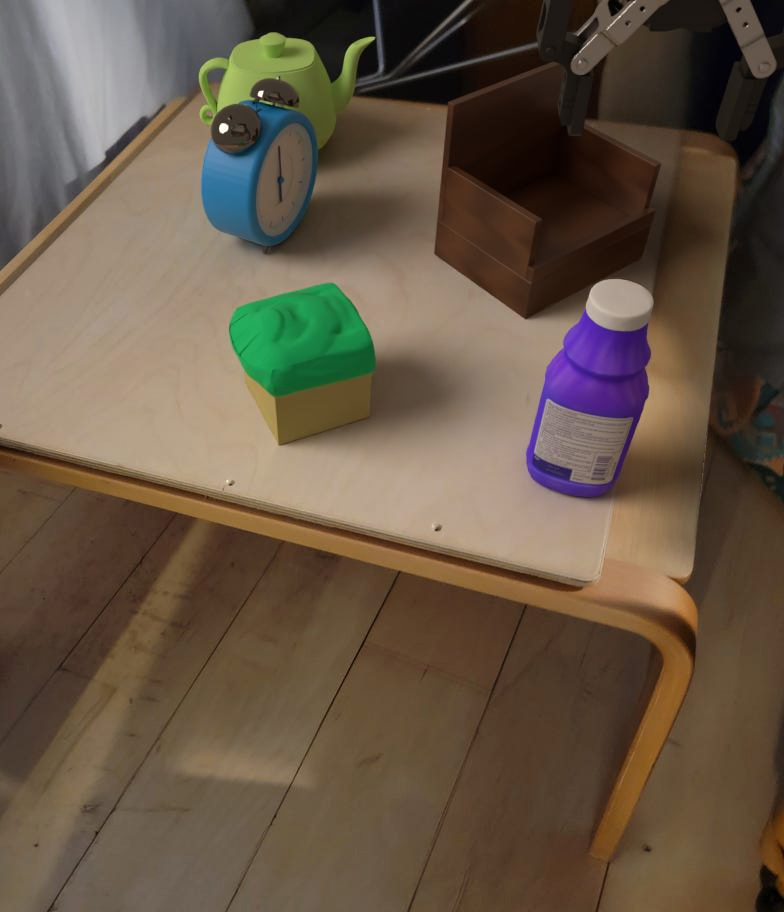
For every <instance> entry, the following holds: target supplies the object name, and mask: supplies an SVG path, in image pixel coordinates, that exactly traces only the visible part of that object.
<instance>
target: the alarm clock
mask: <svg viewBox="0 0 784 912" xmlns="http://www.w3.org/2000/svg"><path fill="white" fill-rule="evenodd" d="M280 77H281V76H278V75H277V79H275V78H265V79H262V80H259V81H258V82H256V83H255V84H254V85H253V87H252V88H251V91H250V95H249V97H252V98H255V99H254V100H245V101H241V102H239V103H237V104H230V105H228V106H226V107H224V108H222V109H221V110H220V111H219V112H218V113H217V114H216V115H215V117H214V119H213V121H212V124H211V126H210V139H209V141H208V144H207V147H206V151H205V154H204V158H203V163H202V168H201V169H202V170H201V177H200V178H201V179H200V195H201V202H202V207H203V211H204V213H205V216H206V218H207V220H208V222H209V223H210V224H211V226H212V227H213V228H214V229H216V230H217V231H219V232H222V233H223V234H226V235H229V236H233V237H236V238H239V239H242V240H245V241H248V242H250V243H251V242H252V243H254V244H258V245H261V246H262V254H263V255H267V253H268V250H269V247H272V246H276V245H279V244H281V243H283V242H284V241H285V240H286V239H288V238H289V237H290V236H291V235H292V234H293V232H294V231H295V230H296V229H297V227H298V225H299V224H300V222H301V221H302V219H303V218H304V215H305V213H306V211H307V209H308V206H309V205H310V201H311V198H312V196H313V191H314V188H315V185H316V179H317V174H318V165H319V150H318V145H317V138H316V133H315V130H314V127H313V125H312V123H311V122H310V120H309V119H308V118H307V117H306V116H305V115H304V114H302V113H300V112H298V111H294V110H290V109H286V108H282V107H278V106H275V103H276V104H280V105H285V106H290V107H295V108H299V101H300V100H299V95H298V93H297V91H296V89H295V88H294V87H293V86H292V85H291V84H290V83H288V82H286V81H283V80H280ZM260 100H263V101H267V102H271V103H272V105H270V104H266V103H262V102H259V101H260Z"/></svg>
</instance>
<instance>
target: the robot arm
mask: <svg viewBox="0 0 784 912" xmlns="http://www.w3.org/2000/svg"><path fill="white" fill-rule="evenodd" d="M574 3H575V0H542V5H541V9H540V14H539V18H538V24H537V29H536V42H537V48H538V55H539V59H540V60H541V61H542V62H545V63H547V64H548V63H551V62H556V63H559V64H561V65H562V66H564V67H565V68H564V73H563V79H562V84H561V90H560V96H559V101H558V111H559V117H560V121H561V125H562V126H567V130H568V135H569V136H581V135H582V133H583V128H584V123H585V124H586V119H587V113H588V108H589V103H590V98H591V95H592V89H593V84H594V81H595V73H594V67H596V66H597V65H598V64H599V63H600V62H601V61H602V60H603V59H604V58H605V56H607V55H608V54H609V53H610V52H611V51H612V50H613V49H614V48H617V47H620V46H621V45H624V43H625V42H626V41H627V40H628V39H629V38H630V37H631V36H633V34H634V33H635V32H636V31H638V29H639V28H640V27H641V26H644V27H646V28H648V30H649V32H653V33H656V32H657V33H660V32H662V33H666V32H669V31H674V30H678V29H683V30H687V31H691V32H693V33H712V31H713V29H714V28H717V27H719V26H721V25H723V24H725V23H726V22H727V23H728V26H729V27H730V29H731V32H732V33H733V36H734V38H735V40H736V43H737V44H738V47H739V48H740V51H741V53H742V56H741V60H740V61H734V62H733V65H732V69H731V71H730V75H729V78H728V81H727V84H726V87H725V90H724V94H723V97H722V100H721V103H720V106H719V109H718V113H717V116H716V119H715V129H716V132H717V135H718V137H719V140H720V141H736V139H737V137H738V135H739V132H740V131H745V132H746V131H747V130H748V129H749V127H750V126H751V125H752V123H753V121H754V118H755V116H756V112H757V110H758V107H759V105H760V101H761V99H762V96H763V93H764V90H765V87H766V84H767V82H768V79H769V78H770V77H771V76H772V74H773V73H775V72H777V71H778V70H781V69H784V26H783V28H782V31H781V33H779V34H776V35H772V36H770V37H767V36H766V34H765V32H764V29H763V26H762V24H761V22H760V20H759V18H758V15H757V13H756V11H755V8H754V6H753V4H752V2H751V0H601V1H600V2H599V3H598V5H597V6H596V8H595V11H594V13H593V14H592V16H590V17H589V19H587V20H586V22H584V24H583V25H582V26H581V27H580V28H579V29H578V30H577V31H576V32H575V33H572V32H570V31H568V28H569V24H570V20H571V17H572V12H573V8H574Z"/></svg>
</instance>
